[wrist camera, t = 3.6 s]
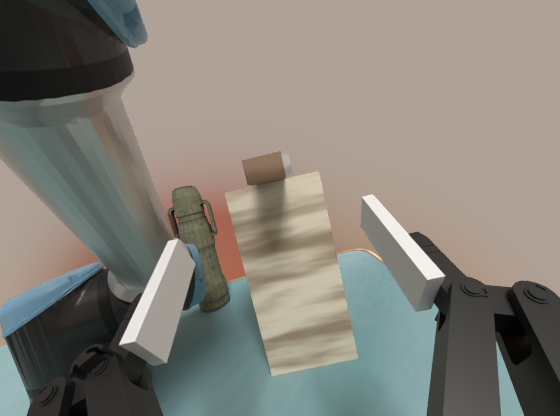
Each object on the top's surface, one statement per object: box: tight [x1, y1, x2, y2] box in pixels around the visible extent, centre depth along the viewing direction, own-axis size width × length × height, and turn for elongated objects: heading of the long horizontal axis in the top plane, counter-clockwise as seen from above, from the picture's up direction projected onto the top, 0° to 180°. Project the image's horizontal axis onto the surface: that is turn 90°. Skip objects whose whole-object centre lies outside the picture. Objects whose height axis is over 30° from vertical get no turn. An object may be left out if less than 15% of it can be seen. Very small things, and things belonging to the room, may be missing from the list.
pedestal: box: [225, 171, 358, 376], centre depth 36 cm, size 10×14×30 cm
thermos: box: [168, 186, 230, 312], centre depth 60 cm, size 9×12×35 cm
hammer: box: [242, 151, 293, 187], centre depth 30 cm, size 19×7×4 cm, turn 0°
